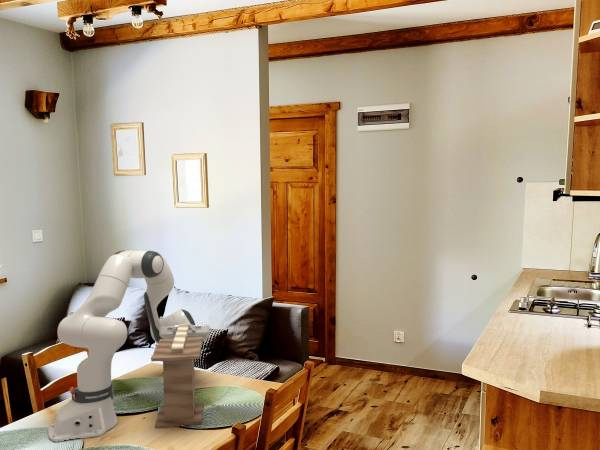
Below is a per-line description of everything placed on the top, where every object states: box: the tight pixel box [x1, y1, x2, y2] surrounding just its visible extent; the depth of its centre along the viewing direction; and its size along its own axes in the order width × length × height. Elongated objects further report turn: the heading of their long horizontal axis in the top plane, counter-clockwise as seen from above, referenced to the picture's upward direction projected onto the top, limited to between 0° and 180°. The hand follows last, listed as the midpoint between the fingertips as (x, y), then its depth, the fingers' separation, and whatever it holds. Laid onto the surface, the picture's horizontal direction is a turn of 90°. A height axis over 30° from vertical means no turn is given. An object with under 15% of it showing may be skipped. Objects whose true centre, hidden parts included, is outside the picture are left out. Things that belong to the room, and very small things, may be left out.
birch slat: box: [171, 324, 189, 354], centre depth 194 cm, size 30×4×2 cm, turn 8°
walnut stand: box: [150, 337, 205, 429], centre depth 187 cm, size 22×16×26 cm
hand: (183, 326), depth 205 cm, fingers closed on birch slat, 4 cm apart
